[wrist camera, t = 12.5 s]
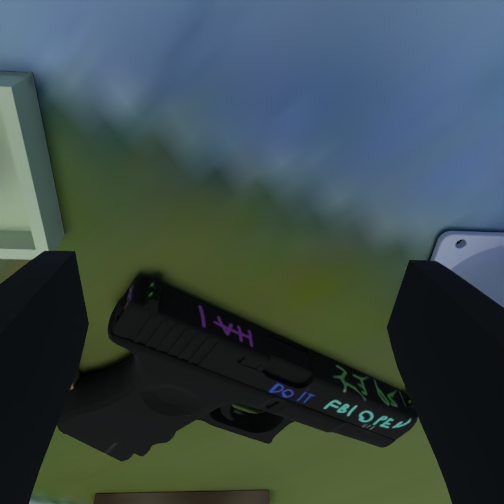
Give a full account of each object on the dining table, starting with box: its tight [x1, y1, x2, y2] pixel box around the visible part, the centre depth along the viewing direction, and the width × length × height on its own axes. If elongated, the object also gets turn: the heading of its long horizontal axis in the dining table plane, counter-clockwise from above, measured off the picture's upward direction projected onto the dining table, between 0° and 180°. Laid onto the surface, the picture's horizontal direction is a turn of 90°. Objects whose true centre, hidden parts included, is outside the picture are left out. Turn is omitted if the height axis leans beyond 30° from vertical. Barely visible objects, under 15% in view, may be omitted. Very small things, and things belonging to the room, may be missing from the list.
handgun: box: [57, 276, 418, 461], centre depth 26 cm, size 19×3×12 cm
